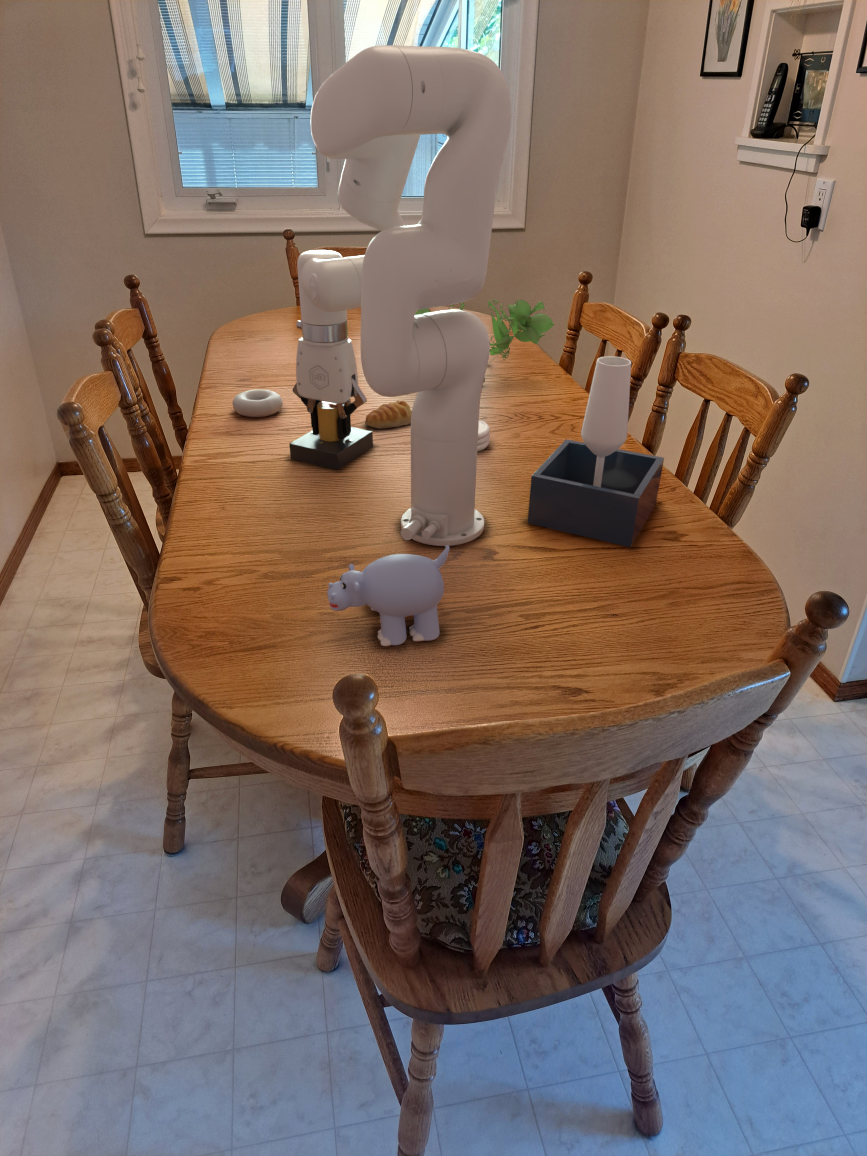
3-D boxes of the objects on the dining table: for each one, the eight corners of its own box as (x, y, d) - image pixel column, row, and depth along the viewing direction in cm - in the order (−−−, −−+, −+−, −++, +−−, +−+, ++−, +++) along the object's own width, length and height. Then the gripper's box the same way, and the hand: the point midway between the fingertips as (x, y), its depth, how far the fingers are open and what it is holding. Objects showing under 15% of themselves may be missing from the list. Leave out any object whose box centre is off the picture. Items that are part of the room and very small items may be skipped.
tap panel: (338, 470, 134) (337, 453, 133) (290, 459, 138) (288, 442, 137) (373, 446, 144) (372, 430, 142) (327, 436, 147) (326, 420, 146)
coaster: (494, 437, 148) (495, 419, 146) (482, 457, 140) (483, 438, 138) (443, 431, 150) (443, 413, 148) (429, 450, 142) (429, 432, 140)
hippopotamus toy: (325, 603, 100) (320, 539, 95) (439, 590, 103) (440, 526, 98) (335, 654, 91) (330, 585, 86) (459, 638, 94) (462, 570, 89)
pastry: (377, 433, 149) (377, 414, 147) (357, 423, 153) (357, 405, 151) (416, 423, 154) (416, 404, 152) (396, 413, 158) (395, 395, 156)
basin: (630, 547, 113) (639, 498, 109) (527, 523, 119) (531, 475, 114) (655, 503, 125) (664, 457, 121) (560, 483, 131) (565, 439, 127)
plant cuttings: (389, 410, 179) (411, 376, 158) (376, 339, 180) (396, 295, 159) (528, 396, 189) (566, 362, 167) (515, 328, 190) (551, 286, 168)
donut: (254, 400, 164) (222, 414, 157) (253, 384, 163) (220, 397, 155) (293, 408, 160) (262, 423, 153) (291, 392, 159) (260, 405, 151)
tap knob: (314, 439, 138) (312, 405, 135) (327, 430, 142) (325, 397, 138) (336, 443, 137) (334, 408, 133) (348, 434, 140) (346, 401, 137)
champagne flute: (623, 519, 120) (648, 365, 107) (585, 526, 118) (606, 370, 105) (600, 500, 126) (621, 352, 113) (563, 507, 123) (580, 356, 111)
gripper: (269, 330, 129) (279, 434, 139) (358, 343, 124) (363, 450, 133) (294, 320, 135) (302, 420, 145) (380, 332, 129) (383, 435, 139)
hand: (331, 433), depth 139 cm, fingers closed on tap knob, 4 cm apart
